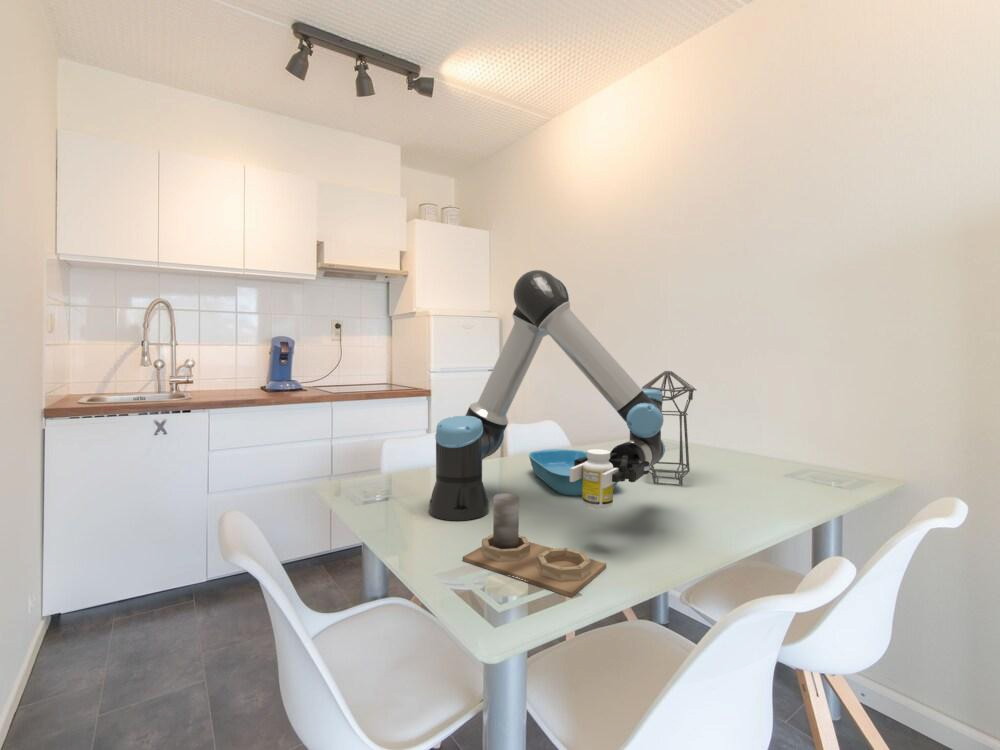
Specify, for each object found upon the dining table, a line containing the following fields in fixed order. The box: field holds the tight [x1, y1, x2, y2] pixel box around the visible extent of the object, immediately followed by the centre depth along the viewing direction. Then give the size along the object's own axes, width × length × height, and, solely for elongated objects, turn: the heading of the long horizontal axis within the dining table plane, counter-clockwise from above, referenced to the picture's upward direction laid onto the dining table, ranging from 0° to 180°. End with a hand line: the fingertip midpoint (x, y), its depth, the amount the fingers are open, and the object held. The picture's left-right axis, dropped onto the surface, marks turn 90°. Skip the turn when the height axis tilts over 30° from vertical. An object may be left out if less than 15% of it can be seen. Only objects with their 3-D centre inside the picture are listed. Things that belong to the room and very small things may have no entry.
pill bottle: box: [581, 448, 614, 510], centre depth 100 cm, size 6×6×11 cm
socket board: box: [462, 492, 607, 598], centre depth 93 cm, size 24×14×12 cm, turn 54°
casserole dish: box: [528, 448, 618, 496], centre depth 152 cm, size 37×22×7 cm, turn 14°
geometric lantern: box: [641, 370, 697, 486], centre depth 154 cm, size 16×16×35 cm
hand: (587, 478), depth 96 cm, fingers closed on pill bottle, 6 cm apart
